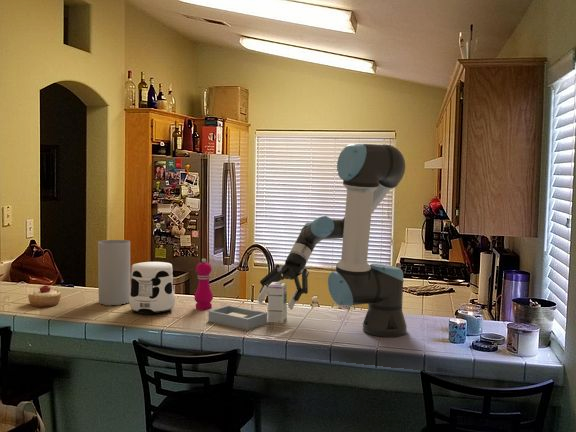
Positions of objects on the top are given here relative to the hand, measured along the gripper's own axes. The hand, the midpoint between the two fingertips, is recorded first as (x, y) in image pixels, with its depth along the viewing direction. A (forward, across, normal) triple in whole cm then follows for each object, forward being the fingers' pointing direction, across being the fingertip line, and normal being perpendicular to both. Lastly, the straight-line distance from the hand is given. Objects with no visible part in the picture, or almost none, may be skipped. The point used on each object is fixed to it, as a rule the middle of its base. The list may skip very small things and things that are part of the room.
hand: (274, 304), depth 212 cm
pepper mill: (+5, +35, -6) cm, 35 cm away
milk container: (+16, +48, +5) cm, 50 cm away
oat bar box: (+11, +10, +2) cm, 15 cm away
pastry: (+29, +89, +19) cm, 95 cm away
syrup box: (+4, 0, -6) cm, 7 cm away
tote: (+11, +10, +1) cm, 15 cm away
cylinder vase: (+16, +70, +5) cm, 72 cm away
